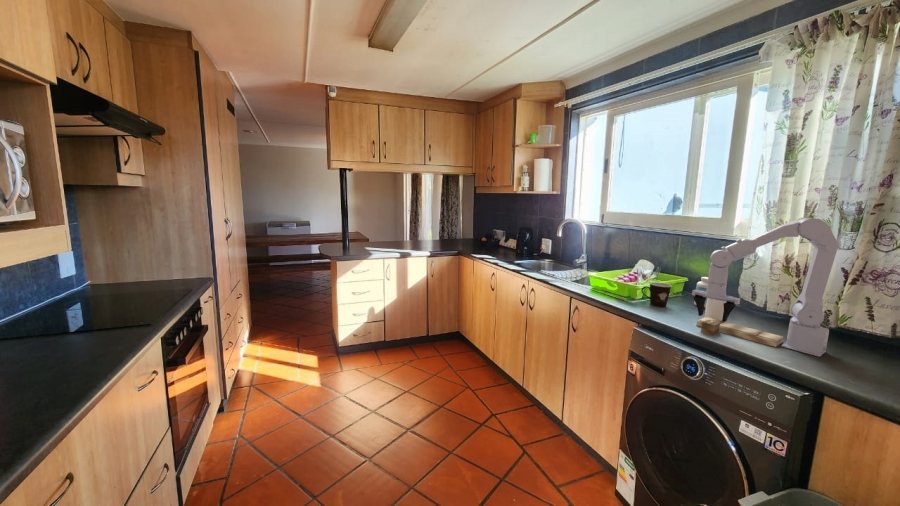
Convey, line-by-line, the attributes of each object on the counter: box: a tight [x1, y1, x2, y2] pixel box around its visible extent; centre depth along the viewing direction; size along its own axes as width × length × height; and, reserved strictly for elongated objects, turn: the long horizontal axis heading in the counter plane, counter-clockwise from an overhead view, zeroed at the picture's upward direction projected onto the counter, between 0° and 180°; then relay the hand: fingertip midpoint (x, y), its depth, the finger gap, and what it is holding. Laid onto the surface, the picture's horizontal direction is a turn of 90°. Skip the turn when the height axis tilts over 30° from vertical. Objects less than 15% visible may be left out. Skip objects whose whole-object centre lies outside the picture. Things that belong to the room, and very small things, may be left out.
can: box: [704, 292, 727, 321], centre depth 148 cm, size 6×6×12 cm
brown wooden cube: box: [700, 320, 720, 336], centre depth 135 cm, size 4×5×4 cm
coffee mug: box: [640, 281, 672, 309], centre depth 168 cm, size 12×9×10 cm
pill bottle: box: [693, 276, 708, 309], centre depth 167 cm, size 8×7×14 cm
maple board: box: [696, 316, 784, 348], centre depth 134 cm, size 24×8×2 cm, turn 34°
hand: (712, 318), depth 134 cm, fingers open, 7 cm apart
